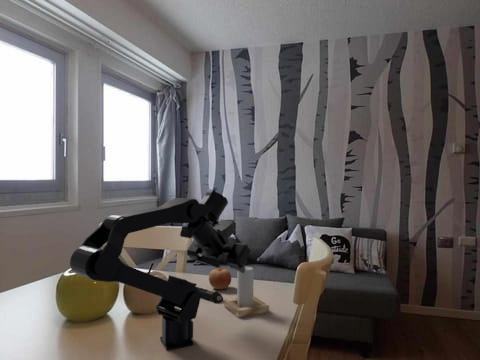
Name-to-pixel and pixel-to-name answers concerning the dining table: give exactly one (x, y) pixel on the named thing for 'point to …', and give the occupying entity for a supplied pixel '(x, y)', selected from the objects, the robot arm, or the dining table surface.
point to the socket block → (240, 312)
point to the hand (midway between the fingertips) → (231, 269)
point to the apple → (220, 278)
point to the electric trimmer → (211, 295)
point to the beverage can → (245, 287)
